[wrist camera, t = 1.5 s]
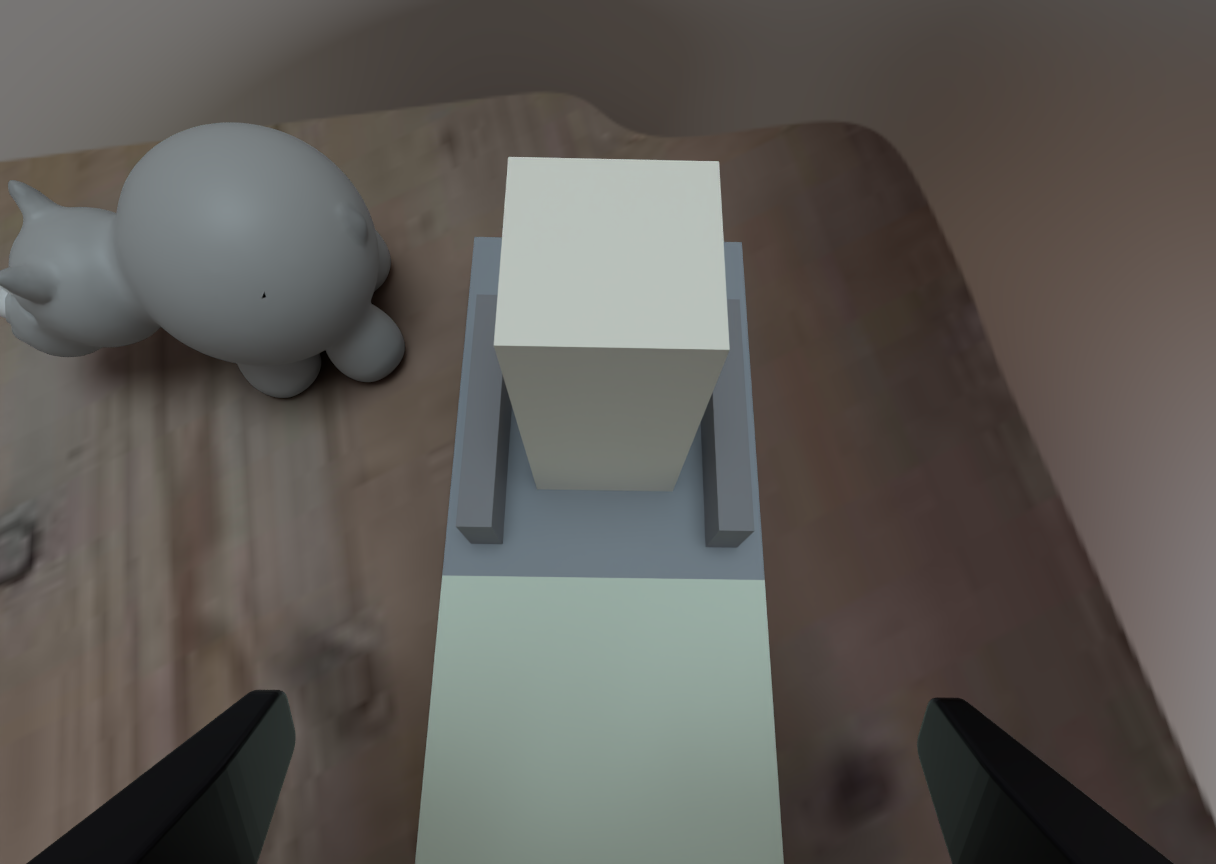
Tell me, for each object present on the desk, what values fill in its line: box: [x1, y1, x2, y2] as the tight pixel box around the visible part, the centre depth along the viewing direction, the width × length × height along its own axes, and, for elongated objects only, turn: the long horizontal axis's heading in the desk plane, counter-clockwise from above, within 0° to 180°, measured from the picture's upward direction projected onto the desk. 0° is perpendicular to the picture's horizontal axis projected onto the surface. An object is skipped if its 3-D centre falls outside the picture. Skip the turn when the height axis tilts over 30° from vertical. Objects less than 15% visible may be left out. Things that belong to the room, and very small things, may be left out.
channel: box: [415, 237, 784, 864], centre depth 22 cm, size 22×10×5 cm, turn 179°
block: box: [494, 157, 730, 491], centre depth 18 cm, size 4×4×10 cm
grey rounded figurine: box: [0, 122, 405, 398], centre depth 22 cm, size 8×12×9 cm, turn 100°
